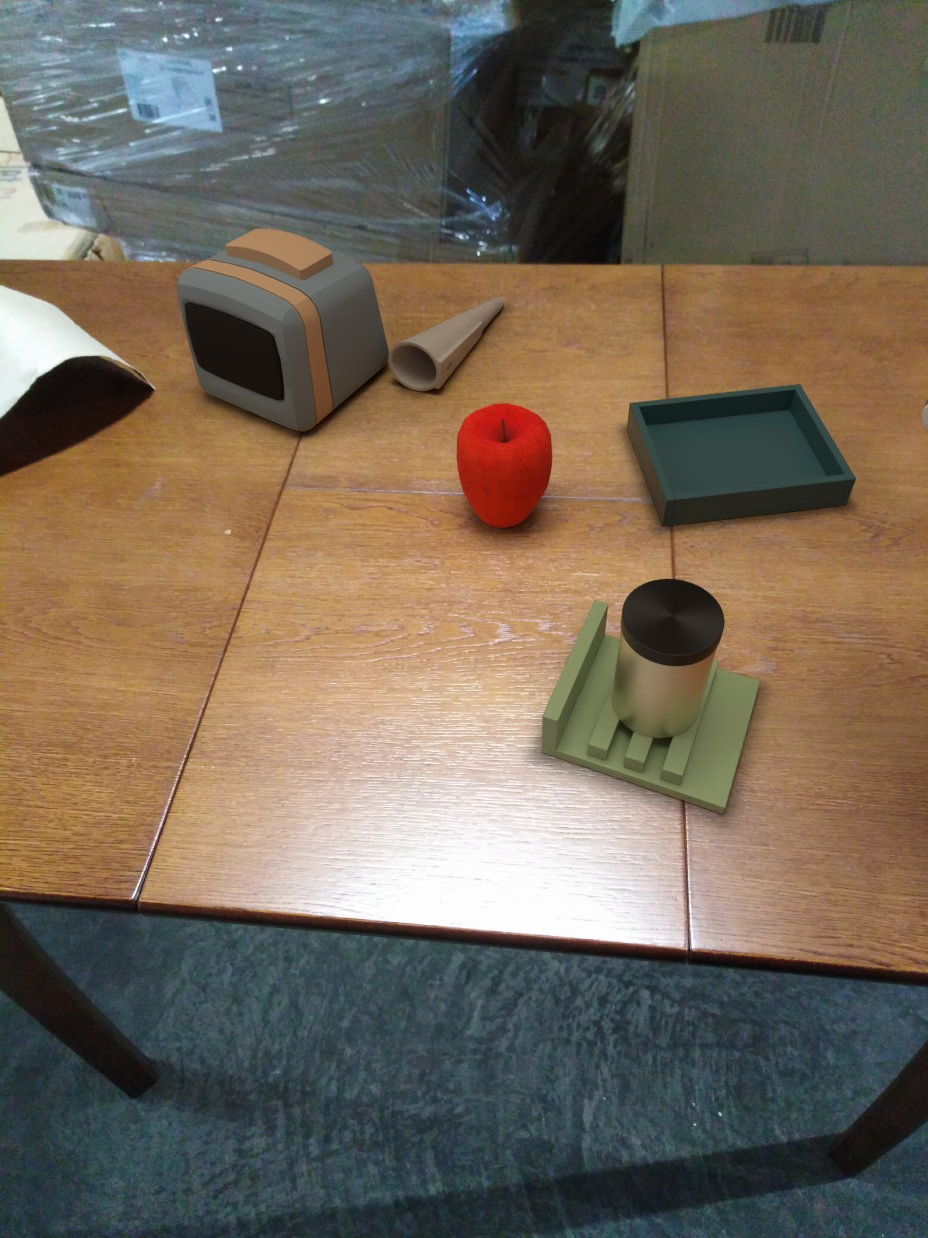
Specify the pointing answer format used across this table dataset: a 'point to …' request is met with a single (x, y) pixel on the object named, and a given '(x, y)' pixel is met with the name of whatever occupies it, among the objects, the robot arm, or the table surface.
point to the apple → (504, 462)
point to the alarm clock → (282, 326)
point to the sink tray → (737, 455)
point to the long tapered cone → (440, 348)
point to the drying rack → (667, 765)
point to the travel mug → (665, 656)
